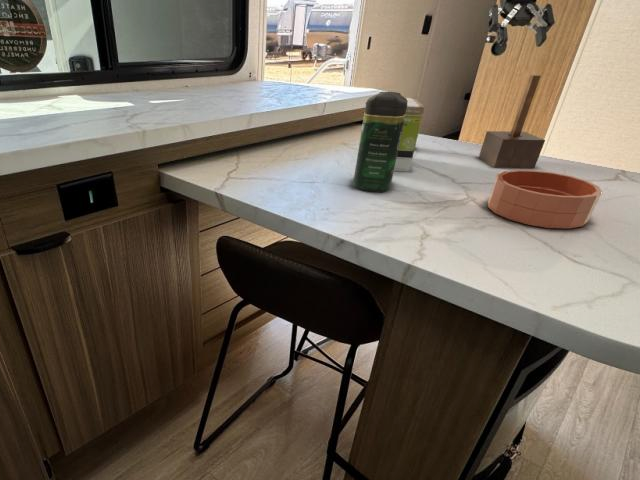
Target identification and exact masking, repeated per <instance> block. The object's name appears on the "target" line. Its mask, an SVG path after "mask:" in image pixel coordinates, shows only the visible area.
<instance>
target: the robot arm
mask: <svg viewBox="0 0 640 480" xmlns="http://www.w3.org/2000/svg"><path fill="white" fill-rule="evenodd" d="M499 16H500V17H501V18H502V19H503V21H501V23H500V22H499ZM531 21H532V22H531ZM555 23H556V21H555V16H554V11H553V5H552V4H551V3H547V4H545V6H539V5H538V4H537V0H499V5H498V4H497V3H493V5H492V6H491V8H490V10H489V12H487V32H488V33H489V34H490V33H495V35H496V41H497V44H498V45H499V47H505V45H506V44H507V43H508V40H509V37H508V36H509V35H508V26H509V25H510V26H511V27H518V26H519V27H525V28H526V29H527V30H528V31H532V32H534V33H535V34H534V38H535V47H537V48H540V47H542V45H543V44H544V43H545V42H546V40H547V39H548V37H547V36H548V35H547V34H548V32H549V31H550V29H551V28H552V27H553V26H554V25H555Z"/></svg>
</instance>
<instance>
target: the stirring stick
mask: <svg viewBox="0 0 640 480" xmlns="http://www.w3.org/2000/svg"><path fill="white" fill-rule="evenodd" d="M541 76H542V75H539V74H530V75H529V77H528V80H527V83H526V86H525V89H524V92H523V94H522V97H521V101H520V104H519V107H518V110H517V112H516V115H515V119H514V121H513V125H512V128H511V131H510V132H511V133H510V136H513V137H519V136H520V134H521V132H523V128H524V125H525V122H526V119H527V116H528V113H529V111H530V108H531V105H532V102H533V100H534V97H535V93H536V91H537V88H538V86H539V83H540V80H541Z"/></svg>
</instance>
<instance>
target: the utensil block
mask: <svg viewBox="0 0 640 480" xmlns="http://www.w3.org/2000/svg"><path fill="white" fill-rule="evenodd" d="M510 133H511V131H507V130H506V131H502V130H501V131H500V130H497V131H495V130H493V131H492V130H486V132H485V136H484V138H483V142H482V145H481V149H480V151H479V154H478V159H479V160H481V161H483V163H485V164H488V165H489V166H490V167H492V168H494V169H531V170H532V169H533V170H534V169H535V168H536V165H537V162H538V160H539V158H540V155H541V152H542V149H543V147H544V145H545V142H546V140H545V139H543V138H541V137H539V136H536V135H534V134H532V133H529V132H527V131H521V134H520V136H519V137H513V136H510Z"/></svg>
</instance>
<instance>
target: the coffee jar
mask: <svg viewBox="0 0 640 480" xmlns="http://www.w3.org/2000/svg"><path fill="white" fill-rule="evenodd" d="M406 98H407V97H405V96H403V95H402V94H401V92H396V91H380V92H378V93H376V94H375V95H372V96H370V97H369V98H368V99H367V100H366V102H365V108H364V113H363V119H362V126H361V132H360V138H359V144H358V151H357V158H356V164H355V169H354V176H353V181H352V185H353V188H354V189H357V190H360V191H363V192H371V193H372V192H373V193H384V192H387V191H388V190H389V189H390V187H391V185H392V181H393V176H394V172H395V171H394V167H395V163H396V158H397V154H398V150H399V145H400V140H401V136H402V131H403V126H404V120H405V115H406V109H407V99H406Z"/></svg>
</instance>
